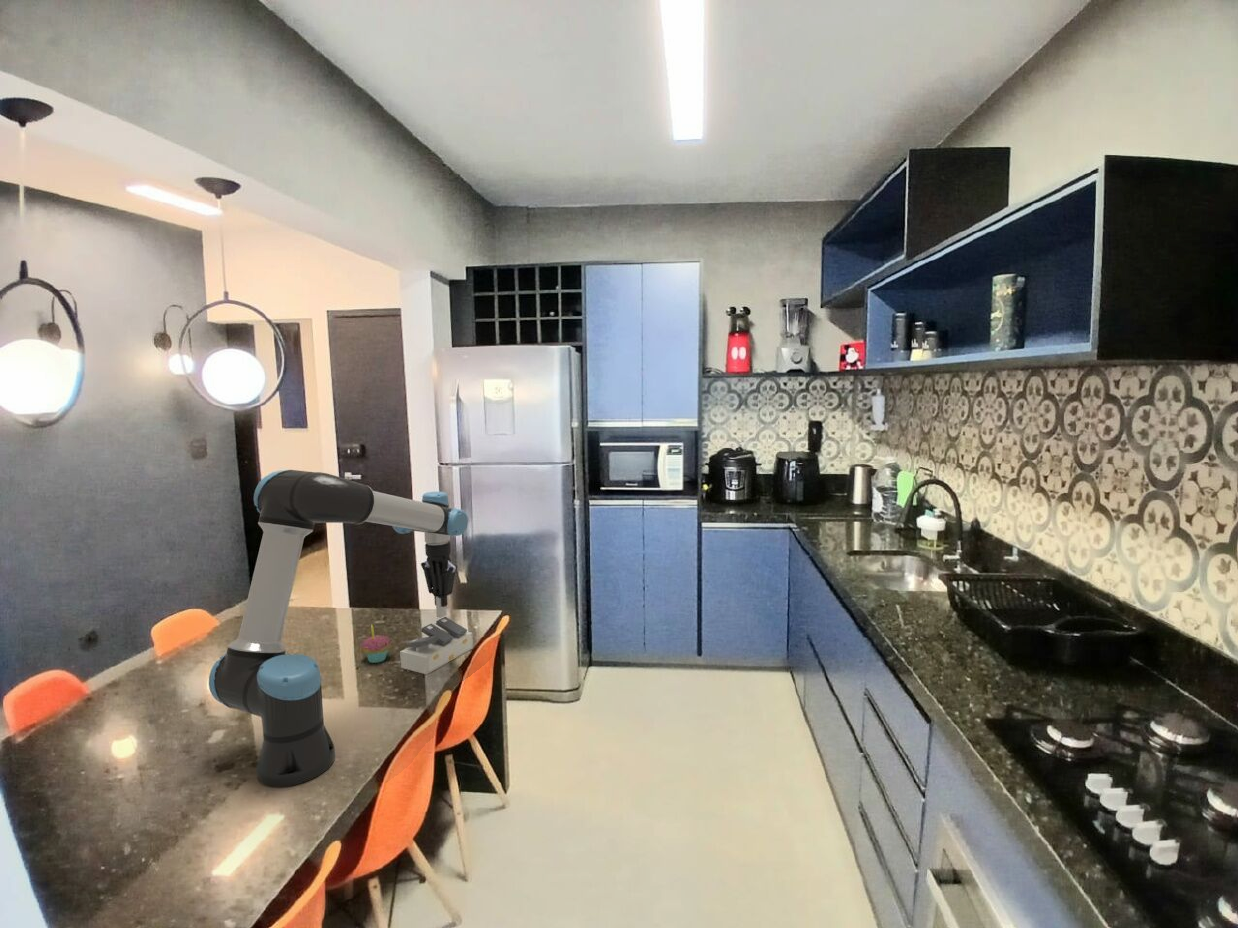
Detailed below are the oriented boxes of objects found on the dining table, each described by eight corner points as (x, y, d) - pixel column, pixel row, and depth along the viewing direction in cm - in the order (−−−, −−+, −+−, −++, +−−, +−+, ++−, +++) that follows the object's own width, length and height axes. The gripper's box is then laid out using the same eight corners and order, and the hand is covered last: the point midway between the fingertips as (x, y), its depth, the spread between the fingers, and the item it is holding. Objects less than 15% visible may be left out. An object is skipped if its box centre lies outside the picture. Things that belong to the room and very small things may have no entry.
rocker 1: (428, 644, 180) (427, 640, 180) (406, 647, 184) (405, 643, 184) (438, 639, 184) (437, 635, 184) (416, 642, 188) (415, 638, 188)
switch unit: (427, 674, 179) (426, 653, 179) (401, 667, 184) (399, 646, 183) (473, 648, 197) (473, 628, 196) (448, 642, 202) (447, 623, 201)
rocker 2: (443, 645, 186) (443, 641, 186) (421, 631, 190) (421, 627, 189) (452, 640, 190) (453, 636, 189) (430, 626, 193) (431, 623, 193)
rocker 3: (457, 637, 192) (458, 633, 191) (435, 624, 195) (436, 620, 195) (466, 632, 195) (467, 629, 195) (444, 619, 199) (445, 616, 198)
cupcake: (385, 665, 186) (382, 626, 184) (356, 665, 186) (354, 626, 184) (396, 653, 194) (393, 615, 193) (368, 653, 194) (366, 615, 193)
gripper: (462, 541, 194) (466, 615, 197) (430, 537, 200) (434, 608, 203) (445, 547, 187) (449, 623, 190) (412, 542, 193) (417, 616, 196)
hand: (441, 615), depth 196 cm, fingers closed
